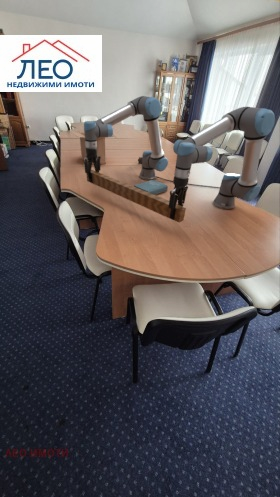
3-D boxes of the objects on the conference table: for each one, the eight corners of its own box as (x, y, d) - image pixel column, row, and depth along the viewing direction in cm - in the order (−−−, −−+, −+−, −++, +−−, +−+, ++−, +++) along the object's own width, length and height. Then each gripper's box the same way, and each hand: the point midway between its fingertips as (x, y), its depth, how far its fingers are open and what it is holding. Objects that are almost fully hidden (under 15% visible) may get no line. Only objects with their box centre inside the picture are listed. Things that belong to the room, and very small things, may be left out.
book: (152, 185, 190) (153, 179, 187) (167, 191, 181) (167, 185, 178) (133, 191, 176) (133, 185, 173) (147, 198, 167) (148, 191, 164)
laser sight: (157, 166, 235) (158, 156, 229) (137, 164, 238) (137, 154, 232) (158, 164, 242) (159, 154, 236) (138, 161, 245) (139, 152, 239)
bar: (87, 181, 164) (86, 170, 159) (91, 179, 167) (91, 169, 162) (179, 222, 122) (181, 210, 117) (183, 220, 124) (186, 207, 120)
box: (116, 165, 229) (116, 136, 213) (83, 168, 214) (80, 137, 198) (102, 154, 259) (101, 128, 243) (71, 156, 244) (68, 129, 228)
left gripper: (83, 150, 141) (87, 185, 155) (105, 147, 152) (106, 180, 166) (76, 148, 145) (80, 182, 159) (98, 145, 156) (99, 177, 170)
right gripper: (177, 182, 104) (170, 225, 118) (196, 175, 115) (188, 214, 129) (165, 178, 108) (159, 220, 122) (184, 171, 119) (177, 210, 133)
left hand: (93, 181), depth 163 cm, fingers closed on bar, 4 cm apart
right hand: (174, 217), depth 125 cm, fingers closed on bar, 5 cm apart
